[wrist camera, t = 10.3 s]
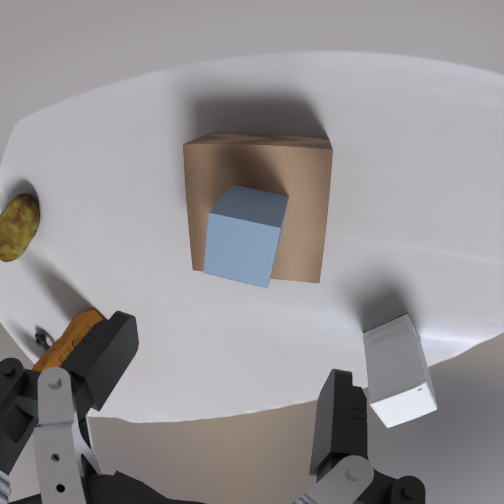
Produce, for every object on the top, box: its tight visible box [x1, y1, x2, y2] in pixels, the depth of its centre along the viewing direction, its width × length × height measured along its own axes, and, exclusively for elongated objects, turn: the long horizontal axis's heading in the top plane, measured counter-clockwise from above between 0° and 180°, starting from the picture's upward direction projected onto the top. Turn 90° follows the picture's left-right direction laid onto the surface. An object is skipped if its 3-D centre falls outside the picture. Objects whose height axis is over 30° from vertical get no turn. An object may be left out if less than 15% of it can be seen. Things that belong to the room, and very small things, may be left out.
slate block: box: [204, 185, 289, 288], centre depth 26 cm, size 5×5×7 cm
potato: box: [0, 193, 39, 262], centre depth 41 cm, size 8×13×8 cm, turn 117°
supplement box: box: [363, 314, 437, 428], centre depth 36 cm, size 7×7×13 cm
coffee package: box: [32, 310, 103, 372], centre depth 44 cm, size 10×12×22 cm
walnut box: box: [183, 134, 333, 283], centre depth 32 cm, size 13×13×8 cm
